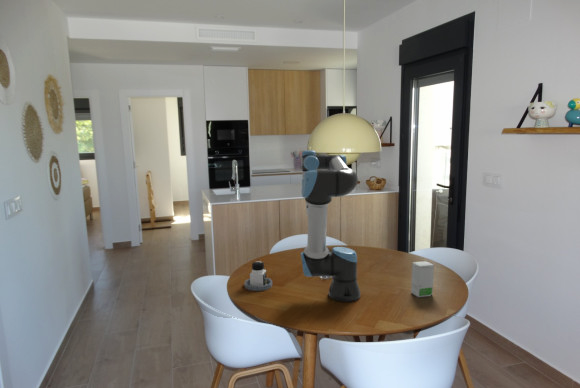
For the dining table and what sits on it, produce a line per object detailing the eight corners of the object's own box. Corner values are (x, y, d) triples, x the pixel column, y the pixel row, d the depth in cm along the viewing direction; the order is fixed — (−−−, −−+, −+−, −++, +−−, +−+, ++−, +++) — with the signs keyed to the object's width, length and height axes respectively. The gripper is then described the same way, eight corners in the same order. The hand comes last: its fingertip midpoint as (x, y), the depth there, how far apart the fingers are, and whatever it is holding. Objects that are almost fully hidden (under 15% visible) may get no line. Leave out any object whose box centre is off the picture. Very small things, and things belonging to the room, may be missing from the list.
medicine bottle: (263, 287, 205) (263, 265, 203) (250, 286, 207) (249, 264, 205) (266, 282, 212) (266, 260, 210) (253, 281, 213) (252, 260, 212)
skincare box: (417, 297, 191) (419, 266, 189) (410, 292, 197) (411, 262, 195) (433, 295, 193) (434, 264, 191) (425, 290, 200) (426, 260, 197)
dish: (277, 285, 210) (277, 281, 209) (257, 293, 200) (257, 289, 199) (259, 278, 219) (259, 275, 219) (239, 286, 209) (239, 282, 209)
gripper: (300, 176, 233) (301, 212, 237) (303, 181, 209) (304, 221, 212) (313, 176, 234) (314, 211, 237) (317, 181, 209) (318, 221, 212)
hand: (309, 216), depth 225 cm, fingers open, 13 cm apart
